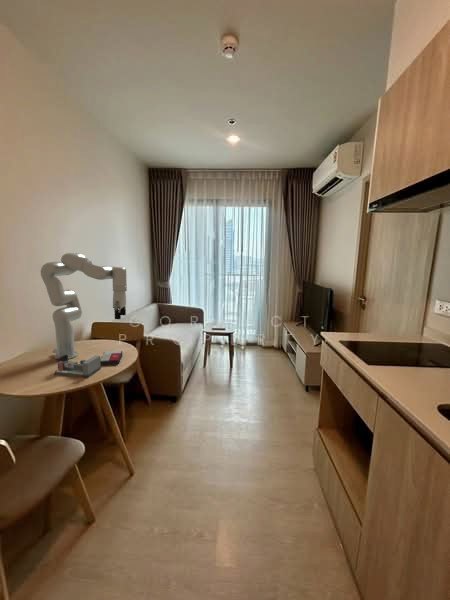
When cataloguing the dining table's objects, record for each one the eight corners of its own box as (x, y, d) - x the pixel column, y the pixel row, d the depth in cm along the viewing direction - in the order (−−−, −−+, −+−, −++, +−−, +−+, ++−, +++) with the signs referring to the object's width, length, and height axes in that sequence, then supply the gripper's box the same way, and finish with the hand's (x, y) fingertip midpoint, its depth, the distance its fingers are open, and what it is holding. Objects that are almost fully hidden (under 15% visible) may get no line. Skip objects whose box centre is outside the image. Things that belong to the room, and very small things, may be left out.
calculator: (98, 360, 153) (104, 350, 167) (99, 367, 154) (104, 356, 168) (118, 359, 155) (122, 349, 170) (118, 366, 156) (122, 355, 170)
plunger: (54, 370, 141) (53, 360, 140) (65, 364, 149) (65, 354, 148) (68, 372, 140) (68, 361, 139) (79, 365, 148) (78, 355, 147)
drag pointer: (59, 371, 141) (58, 362, 140) (61, 369, 142) (60, 361, 141) (60, 371, 140) (60, 362, 140) (63, 370, 142) (62, 361, 141)
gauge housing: (54, 374, 141) (53, 360, 140) (69, 365, 152) (68, 353, 151) (88, 377, 139) (87, 363, 137) (100, 369, 149) (100, 355, 148)
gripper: (118, 286, 159) (118, 313, 161) (107, 290, 142) (108, 320, 144) (130, 287, 159) (130, 314, 162) (121, 290, 142) (122, 320, 145)
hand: (120, 317), depth 153 cm, fingers open, 9 cm apart
